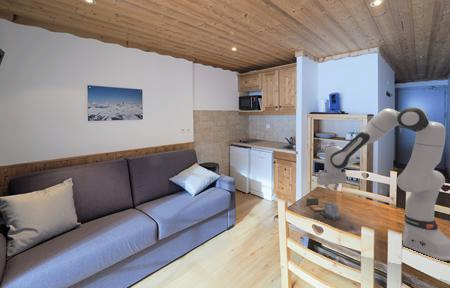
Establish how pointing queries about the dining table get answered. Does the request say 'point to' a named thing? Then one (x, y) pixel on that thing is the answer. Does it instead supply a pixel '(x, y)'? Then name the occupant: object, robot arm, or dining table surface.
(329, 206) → the medicine box
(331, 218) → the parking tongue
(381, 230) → the dining table surface
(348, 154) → the robot arm
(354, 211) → the dining table surface
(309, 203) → the rack
